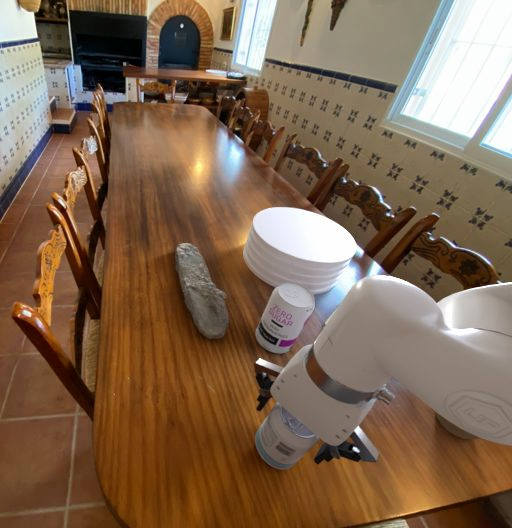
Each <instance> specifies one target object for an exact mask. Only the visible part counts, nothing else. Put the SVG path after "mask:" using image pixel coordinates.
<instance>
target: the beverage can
mask: <svg viewBox="0 0 512 528" xmlns="http://www.w3.org/2000/svg"><path fill="white" fill-rule="evenodd" d="M319 439H320V438H319V437H318V436H317V435H315V434H314V433H313V432H312V431H311V430H309V429H308V428H307V427H306V426H305V425H303V424H302V423H301V422H300V421H299V420H297V419H296V418H295V417H294V416H293V415H292V414H290V413H289V412H288V411H287V410H286V409H285V408H284V407H282V406H281V405H280V404H279V403H278V402H277V401H276V403H275V404H274V405H273V407H271V410H270V411H269V413H268V414H267V416H266V417H265V419H264V420H263V422H262V423H261V424H260V426H259V427H258V429H257V431H256V433H255V437H254V443H255V447H256V450H257V452H258V454H259V456H260V457H261V459H262V460H263V461H264V462H265V463H266V464H267V465H269V467H270V466H271V467H272V468H274V469H277V470H288V469H290V468H292V467H293V466H294V465H295V464H296V463H297V462H298V461H299V460H300V459H302V458H303V457H304V456H305V455H306V454H307V453H308V452H310V450H311V449H312V448H313V447H315V446H316V445H317V443H318V442H319Z"/></svg>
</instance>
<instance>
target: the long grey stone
mask: <svg viewBox="0 0 512 528" xmlns="http://www.w3.org/2000/svg"><path fill="white" fill-rule="evenodd" d="M174 261H175V267H174V269H175V271H176V273H177V274H178V279H179V286H180V287H181V288H180V289H181V291H182V294H183V298H184V300H183V301H184V303H185V307H186V308H187V310H188V312H189V313H190V315H191V318H192V321H193V324H194V325H195V327H196V329H197V330H198V332H199V333H200V335H202V336H203V337H204V338H205V339H208V340H219V339H222V338H223V337H224V336H225V334H226V331H227V328H228V326H229V323H230V313H229V312H228V310H227V305H226V302H225V300H226V299H227V297H228V296H227V294H226V293H225V291H222V290H221V289H218V288H217V285H216V283H213V280H212V278H211V274H210V270H209V269H208V266H207V263H206V261H205V259H204V257H203V255H201V253H200V252H199V249H198V246H195V245H194V244H192V243H188V242H183V243H180V244H178V245H177V246H176V248H175V251H174Z"/></svg>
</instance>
